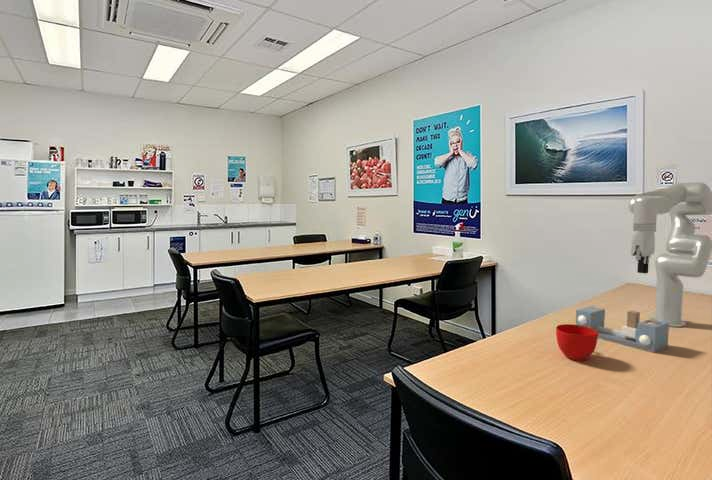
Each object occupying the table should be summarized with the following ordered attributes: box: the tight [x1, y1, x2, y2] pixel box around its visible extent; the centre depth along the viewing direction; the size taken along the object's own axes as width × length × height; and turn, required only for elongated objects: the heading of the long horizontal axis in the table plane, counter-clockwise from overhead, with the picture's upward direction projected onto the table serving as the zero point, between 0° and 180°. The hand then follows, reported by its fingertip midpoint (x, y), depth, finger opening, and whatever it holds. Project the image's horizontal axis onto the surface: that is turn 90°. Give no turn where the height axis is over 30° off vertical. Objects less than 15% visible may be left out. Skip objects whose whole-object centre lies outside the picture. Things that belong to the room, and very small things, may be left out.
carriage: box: [620, 310, 641, 340], centre depth 157 cm, size 7×5×10 cm
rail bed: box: [575, 305, 670, 354], centre depth 161 cm, size 12×29×10 cm, turn 32°
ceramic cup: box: [555, 323, 599, 362], centre depth 145 cm, size 13×17×10 cm
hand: (642, 272), depth 164 cm, fingers closed
